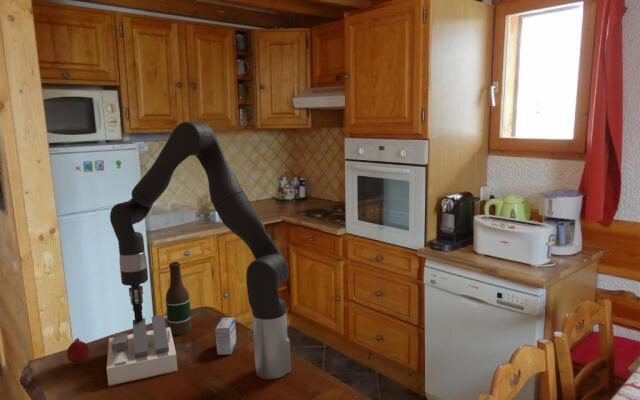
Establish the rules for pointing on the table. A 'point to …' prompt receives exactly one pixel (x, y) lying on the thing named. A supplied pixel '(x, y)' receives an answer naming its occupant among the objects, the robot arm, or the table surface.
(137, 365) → the board rack
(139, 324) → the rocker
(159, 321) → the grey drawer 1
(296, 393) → the table surface
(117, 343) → the grey board
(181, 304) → the beer bottle
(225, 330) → the medicine box
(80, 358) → the onion
